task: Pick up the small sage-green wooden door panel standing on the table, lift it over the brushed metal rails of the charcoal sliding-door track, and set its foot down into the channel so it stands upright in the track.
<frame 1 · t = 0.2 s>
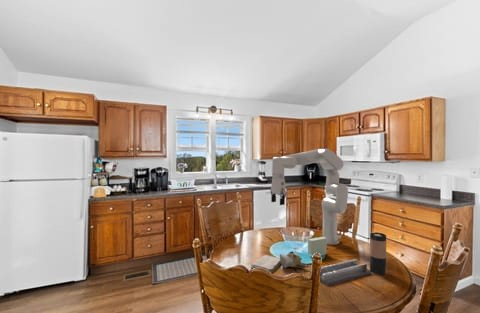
hand: (277, 203, 154), 31 cm above the table, fingers open, 9 cm apart
door track: (340, 274, 126), on the table
washcloth: (267, 266, 136), on the table
travel mug: (377, 272, 129), on the table
ceramic sculpture: (292, 267, 134), on the table
door panel: (317, 254, 151), on the table
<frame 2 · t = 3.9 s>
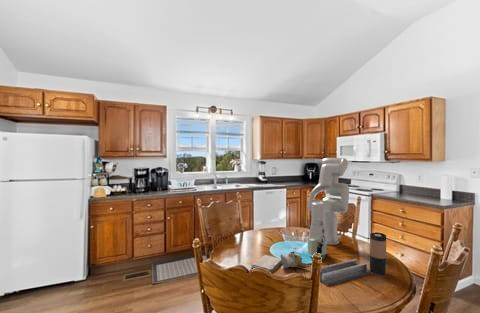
hand: (317, 251, 150), 2 cm above the table, fingers closed on door panel, 3 cm apart
door panel: (317, 254, 150), on the table, touching gripper
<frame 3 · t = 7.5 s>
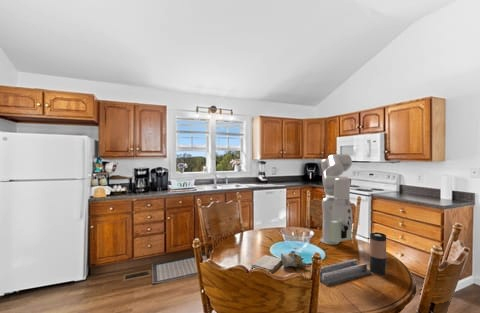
hand: (341, 236, 126), 19 cm above the table, fingers closed on door panel, 3 cm apart
door panel: (340, 239, 126), point 18 cm above the table, touching gripper
when the fingers open (5 cm above the table, at t = 11.2 s): door panel stays where it is, resting on door track.
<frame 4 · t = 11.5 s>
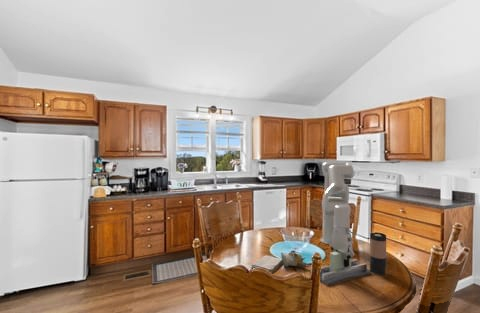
hand: (341, 263, 126), 6 cm above the table, fingers open, 6 cm apart
door panel: (340, 271, 126), point 1 cm above the table, touching door track
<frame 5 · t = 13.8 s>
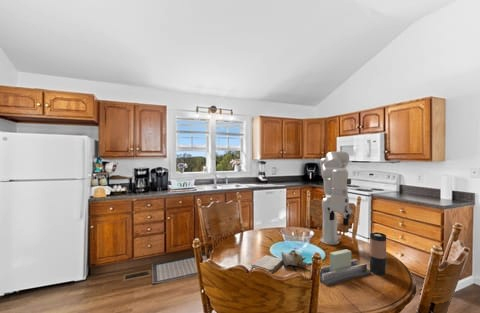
hand: (338, 222, 134), 25 cm above the table, fingers open, 9 cm apart
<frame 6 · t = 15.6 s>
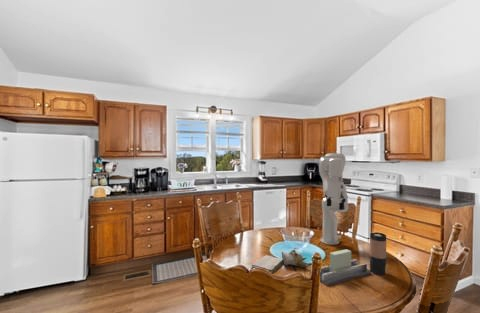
hand: (335, 207, 145), 30 cm above the table, fingers open, 9 cm apart
at the end: door panel inside the target area on the door track (0.3 cm from its centre), point 1.5 cm above the door track's base; door panel tilted 0°; the gripper is holding nothing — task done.
